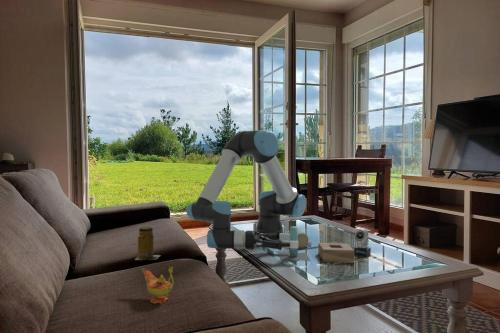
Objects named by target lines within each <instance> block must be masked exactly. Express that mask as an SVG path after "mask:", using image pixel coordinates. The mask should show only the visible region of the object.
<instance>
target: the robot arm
mask: <svg viewBox="0 0 500 333" xmlns="http://www.w3.org/2000/svg"><path fill="white" fill-rule="evenodd" d="M278 143H279V140H278V138H277V136H276V134H275V133H274V132H273V131H271V130H265V129H260V130H242V131H239V132H237V133H236V134H234V135H232V137H231V138H230V139H229V140H228V141H227V142H226V144H225V145H224V147H223V148H222V150H221V156H220V158H219V160H218V162H217V163H216V165H215V167H214V169H213V171H212V172H211V175H210V176H209V178H208V180H207V181H206V183H205V185H204V187H203V189H202V191H201V192H200V194H199V196H198V198H197V199H196V201H194V202H191V203H189V204H188V205H187V208H186V215H187V217H188V218H189V219H191V220H193V221H199V222H205V223H211V224H212V228H211V229H208V231H207V234H206V236H207V237H206V244H207V247H208V248H209V249H218V250H220V249H221V250H224V249H227V250H228V249H232V250H233V249H236V251H239V250H244V249H246V250H254V249H255V246H256V248H266V249H273V250H279V251H282V249H285V248H286V249H290V248H298V249H299V247H298V241H288V240H290V234H288V233H284V227H283V224H282V219H281V216H287V217H293V218H296V217H297V218H300V217H302V216H303V215H304V212H305V210H306V207H307V199H306V196H305V195H304V194H299V192H298V190H297V189H296V188H295V187H293V186H292V185H291V183H290V181H289V179H288V176H287V175H286V173H285V170H284V168H283V167H282V165H281V162H280V161H279V158H278V157H277V155H278V150H279V144H278ZM244 156H251V157H252V158H253V160H254V162H255V163H256V164H259V165H260V166H261V168H262V170H263V172H264V174H265V176H266V178H267V180H268V182H269V183H270V185H271V186H272V188H273V190H266V191H261V192H260V193H259V199H258V201H259V202H258V205H259V206H258V209H259V210H258V214H259V215H258V221H257V224H256V225H255V226H256V227H255V230H246V231H245V230H243V229H242V230H241V229H240V230H239V229H234V230H233V229H231V228H232V227H231V224H232V222H231V221H232V220H231V219H232V207H231V206H232V205H231V202H230V201H229V200H228V201H227V200H217V199H218V197H219V196H220V194H221V192H222V190H223V188H224V187H225V185H226V182H227V181H228V180H229V177H230V175H231V174H232V171H233V170H234V168H235V165H237V163H239V162H241V159H242V158H243V157H244ZM256 231H257V232H259V233H263V234H258V233H256V235H255V232H256ZM280 233H282V234H280Z"/></svg>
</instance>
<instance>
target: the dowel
mask: <svg viewBox="0 0 500 333" xmlns="http://www.w3.org/2000/svg"><path fill="white" fill-rule="evenodd" d="M289 228H290V229H289V231H290V241H298V230H299V227H298V226H290V227H289ZM298 251H299V247H298V248H289V252H290V257H298V253H299V252H298Z"/></svg>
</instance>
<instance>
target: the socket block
mask: <svg viewBox="0 0 500 333" xmlns="http://www.w3.org/2000/svg"><path fill="white" fill-rule="evenodd" d="M317 246H318V249H317V252H318V256H319V257H320V258H321V260H322V262H325V263H326V262H328V263H333V262H334V263H347V264H354V263H355V255H354V248H352V246H351V245H349V244H348V243H346V242H344V243H343V242H318V245H317Z"/></svg>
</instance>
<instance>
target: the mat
mask: <svg viewBox="0 0 500 333" xmlns="http://www.w3.org/2000/svg"><path fill="white" fill-rule="evenodd" d="M277 254H278V257H279V260H280V261H303V262H304V261H309V262H310V261H311V259H310V258H309V255H308V254H307V252H298V257H290V251H289V252H288V251H287V252H286V251H284V252H281V251H280V252H279V251H278V252H277Z"/></svg>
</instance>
